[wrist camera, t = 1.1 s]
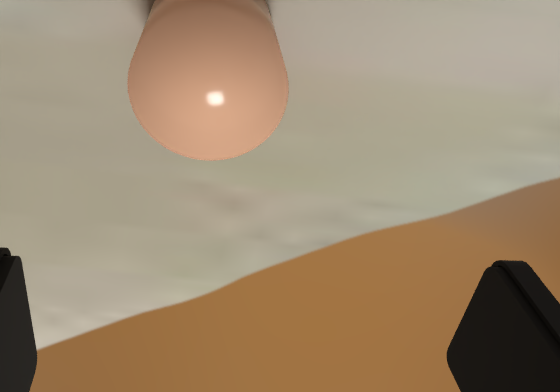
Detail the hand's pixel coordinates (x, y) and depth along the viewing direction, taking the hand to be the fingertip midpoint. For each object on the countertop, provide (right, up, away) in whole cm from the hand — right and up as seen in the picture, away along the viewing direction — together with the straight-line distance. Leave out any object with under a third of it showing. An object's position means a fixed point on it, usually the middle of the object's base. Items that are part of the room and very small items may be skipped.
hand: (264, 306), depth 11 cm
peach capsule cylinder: (-4, +12, +20) cm, 23 cm away
